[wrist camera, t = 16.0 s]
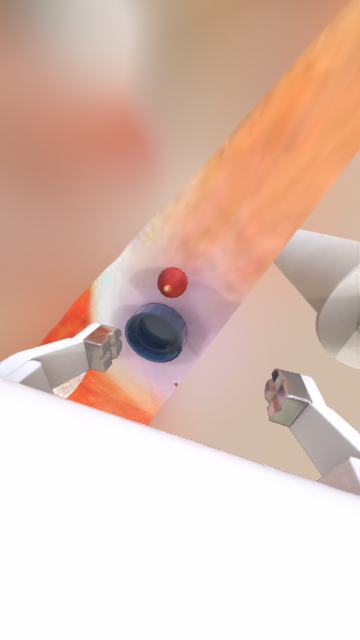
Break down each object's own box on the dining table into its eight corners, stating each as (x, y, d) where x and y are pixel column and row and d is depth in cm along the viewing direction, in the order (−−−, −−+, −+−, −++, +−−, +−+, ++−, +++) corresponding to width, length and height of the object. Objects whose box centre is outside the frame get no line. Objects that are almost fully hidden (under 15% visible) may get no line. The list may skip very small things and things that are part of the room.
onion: (180, 295, 40) (170, 311, 33) (159, 279, 39) (144, 292, 33) (196, 275, 37) (188, 288, 30) (173, 257, 36) (160, 267, 30)
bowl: (190, 309, 41) (186, 320, 37) (183, 355, 49) (178, 368, 44) (133, 297, 43) (123, 306, 39) (135, 342, 51) (126, 354, 47)
